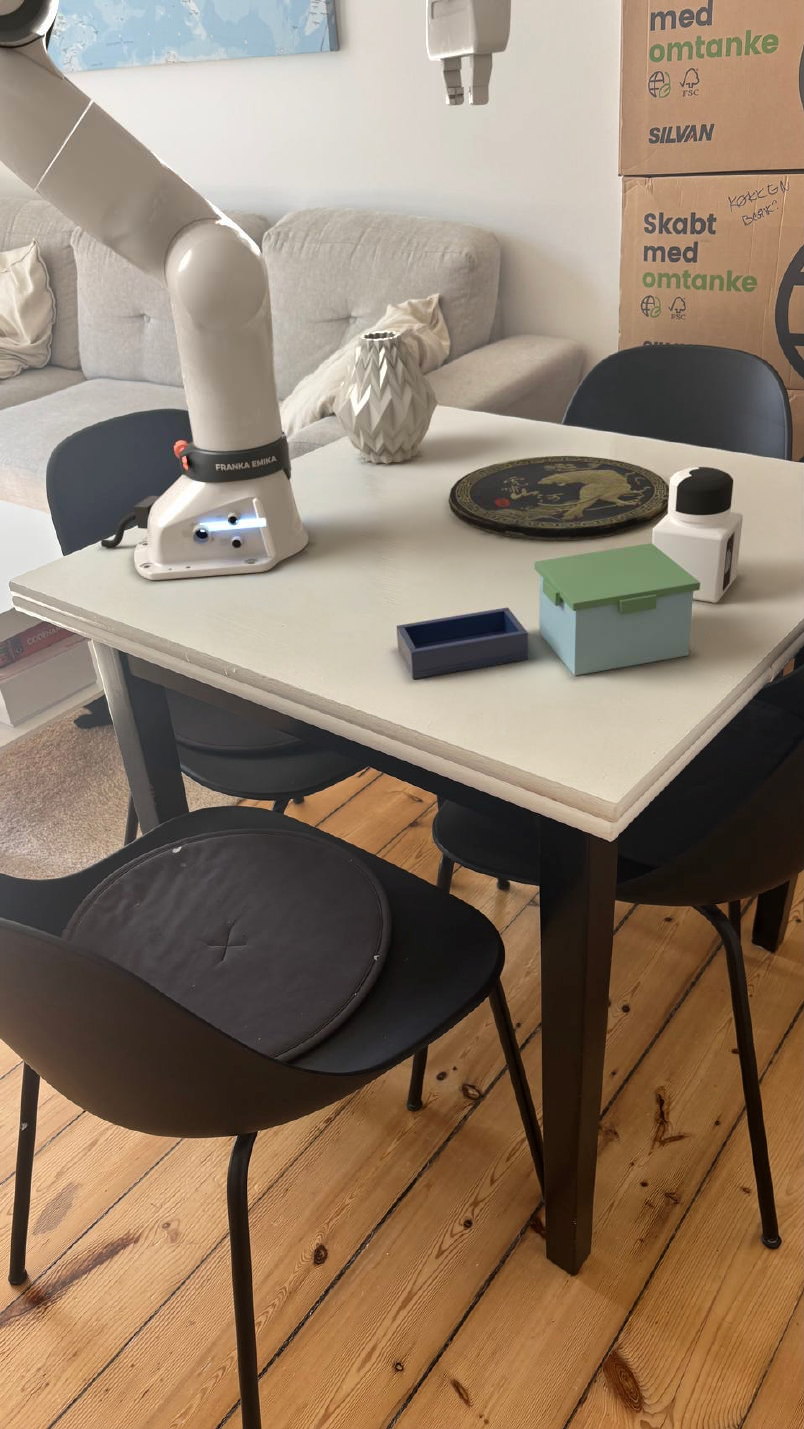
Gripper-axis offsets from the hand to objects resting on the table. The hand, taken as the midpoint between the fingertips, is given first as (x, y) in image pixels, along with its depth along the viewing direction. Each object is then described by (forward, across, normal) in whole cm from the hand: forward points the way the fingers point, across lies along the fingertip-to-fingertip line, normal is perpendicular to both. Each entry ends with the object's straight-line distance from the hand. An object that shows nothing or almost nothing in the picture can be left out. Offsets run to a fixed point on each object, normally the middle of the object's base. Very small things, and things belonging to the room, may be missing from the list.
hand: (466, 105), depth 118 cm
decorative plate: (+48, 0, +11) cm, 49 cm away
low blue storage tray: (+48, +39, -14) cm, 63 cm away
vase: (+48, -30, -6) cm, 57 cm away
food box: (+48, +42, +1) cm, 64 cm away
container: (+48, +32, +15) cm, 60 cm away
